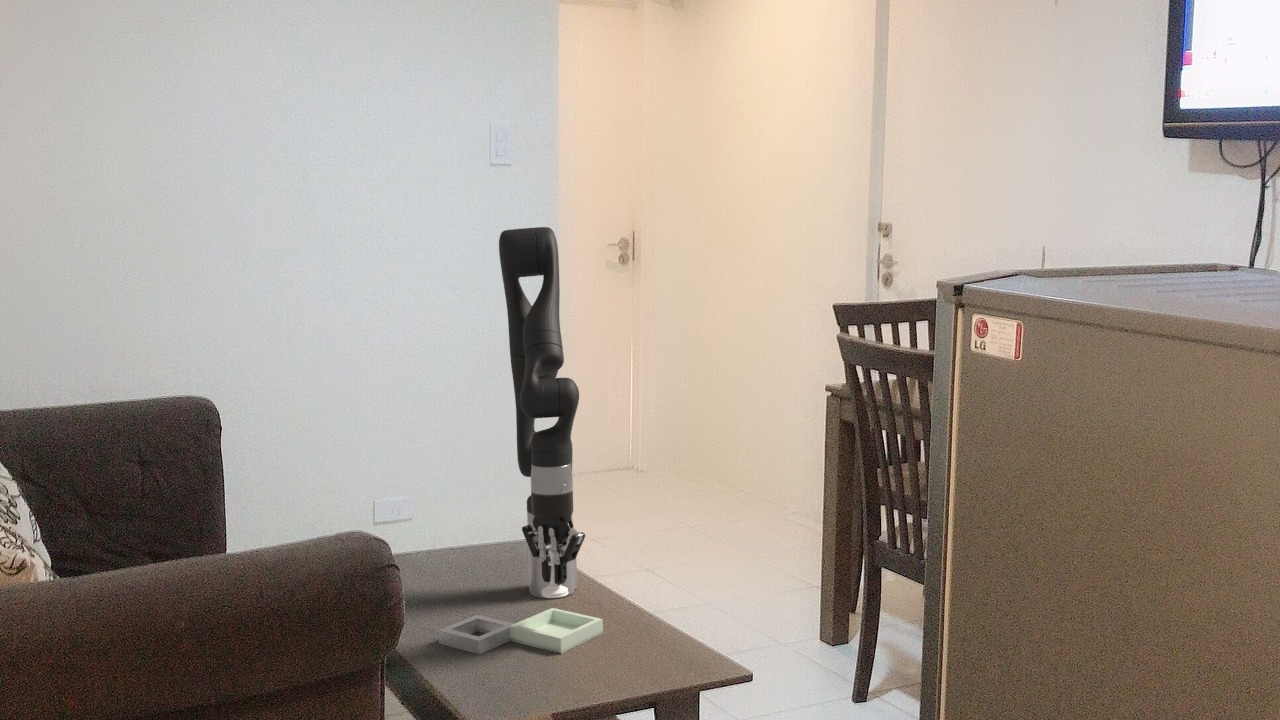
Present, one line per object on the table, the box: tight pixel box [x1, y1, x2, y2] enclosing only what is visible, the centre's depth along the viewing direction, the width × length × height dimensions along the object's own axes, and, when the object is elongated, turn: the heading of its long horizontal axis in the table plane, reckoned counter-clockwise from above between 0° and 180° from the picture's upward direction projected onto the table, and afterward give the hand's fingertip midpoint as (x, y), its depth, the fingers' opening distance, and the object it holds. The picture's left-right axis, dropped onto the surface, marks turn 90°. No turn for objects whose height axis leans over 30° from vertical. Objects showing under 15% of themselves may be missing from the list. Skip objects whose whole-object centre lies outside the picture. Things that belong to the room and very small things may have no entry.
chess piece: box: [541, 543, 569, 599], centre depth 209 cm, size 5×5×10 cm
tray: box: [509, 607, 604, 655], centre depth 211 cm, size 12×12×3 cm
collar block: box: [438, 614, 514, 655], centre depth 210 cm, size 10×10×2 cm
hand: (554, 581), depth 209 cm, fingers closed on chess piece
